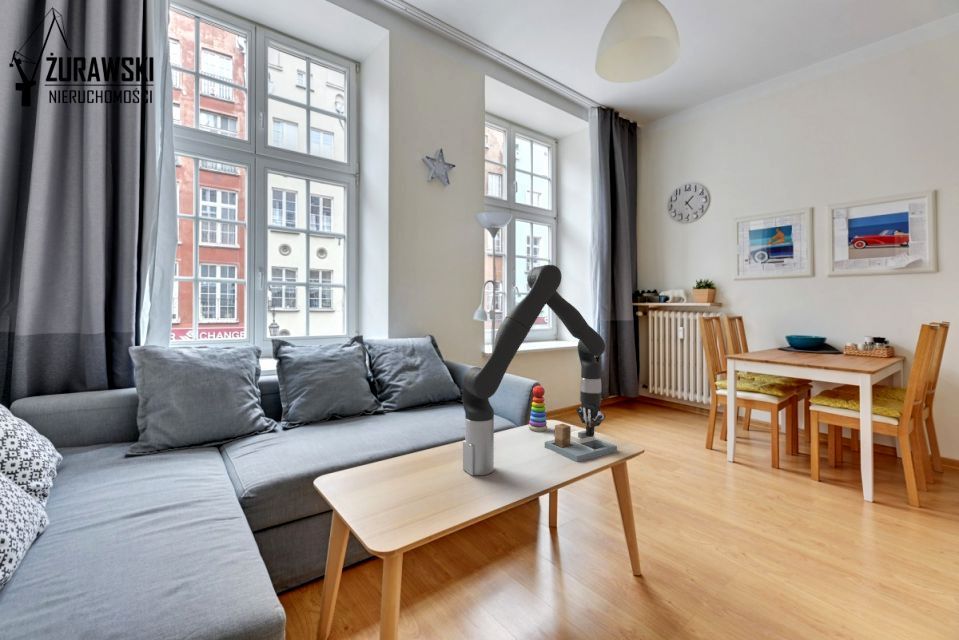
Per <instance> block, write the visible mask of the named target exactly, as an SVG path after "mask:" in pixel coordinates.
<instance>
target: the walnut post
mask: <svg viewBox="0 0 959 640" xmlns="http://www.w3.org/2000/svg"><path fill="white" fill-rule="evenodd" d="M571 427H572V426H571V425H567V424H565V423H561V424H560V423H559V424H555V425H554V440H555V445H556V446H558V447H560V448H565V447H569V446H570V435H571V432H572V431H571Z"/></svg>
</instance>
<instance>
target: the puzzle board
mask: <svg viewBox="0 0 959 640" xmlns="http://www.w3.org/2000/svg"><path fill="white" fill-rule="evenodd" d="M591 447H592V448H591ZM544 448H545V449H548V450H550V451H552V452H554V453H556V454H559V455H561V456H563V457H565V458H567V459H569V460H572V461H574V462H577V463H579V462H583V461H586V460H590V459H593V458H597V457H601V456H604V455H607V454H608V455H609V454H612V453H615V452H617V451H618V446H617V445H615V444H613V443H611V442H607V441H605V440H602V439H599V438H597V437H595V440H594V441H590V442H586V443H582V444H579V443H577V442H574V441H572V440H570V446H569V447H565V448H560V447H558V446H556V445H555V439H551V440H547V441H544ZM593 448H595V449H593ZM597 448H598V449H597Z"/></svg>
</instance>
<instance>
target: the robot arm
mask: <svg viewBox="0 0 959 640" xmlns="http://www.w3.org/2000/svg"><path fill="white" fill-rule="evenodd" d="M526 282H527V285H528V286H529V288H530V290H529V291H528V293H527V294H526V296H525V297H523V298H522V299H521V300H520V301H519V302H518V303H517V304H516V305H515V306H514V307H513V308H512V309H511V310H510V311H509V312H508V313H507V314H506V316H505V317H504V319H503V320H502V322H501V324H500V325H499V327H498V329H497V332H496V335H495V338H494V339H495V340H494V344H493V349H492V352H491V354H490V356H489V358H488V359H487V361H486V362H485V364H484V365H483V366H482V367H478V366H474V367H473V366H472V367H470V368H468V369H467V370H466V371H465V373H464V374H463V378H462V383H461V384H462V386H461V388H462V389H461V390H462V407H463V411H464V413H465V414H464V416H465V417H464V420H465V424H464V425H465V427H464V430H465V431H464V433H465V435H464V437H465V438H464V439H465V440H464V439H463V440H462V470H463V471H464V472H466V473H467V474H468V475H470V476H485V475H486V476H487V475H490V474H491V473H493V472H494V469H495V467H494V464H495V462H494V460H495V459H494V457H495V456H494V454H495V452H494V450H495V445H494V443H495V441H494V440H495V439H494V438H495V437H494V435H495V434H494V433H495V431H494V430H495V426H494V425H495V422H494V421H495V419H494V418H495V412H494V408H493V406H492V405H491V403H490V400H489V398H491V397H492V396H494V395H495V394H496V392H497V391H498V388H499V386H500V384H501V383H502V380H503V379H504V376H505V374H506V372H507V370H508V368H509V366H510V365H511V362H512V360H513V359H514V357H515V355H517V352H518V350H519V349H520V348H521V345H522V344H523V343H524V341H525V339H526V338H527V336H528V335H529V333H530V331H531V329H532V327H533V325H534V324H535V322H536V320H537V319H538V318H539V316H540V314H541V312H542V311H543V309H544V307H545V306H546V305H547V306H548V307H549V308H550V309H551V311H552V312H553V313H554V314H555V315H556V316H557V318H558V319H559V320H560V321H561V323H562V324H563V325H564V327H565V328H566V330H567V331H568V332H569V334H570V335H571V336H572V337H573V338H574V339H578V343H577V353H578V357H579V362H580V368H581V369H580V373H581V374H580V383H579V384H580V385H579V386H580V387H579V389H580V390H579V391H580V393H579V394H580V395H579V397H580V398H579V401H580V406H579V408H578V407H577V408H576V409H575V411H576V413H577V415H578V417H579V420H580V421H581V423H582V424H584V425H585V431H586V434H587V436H588V437H593V436H594V435H595V427H599V426H600V425H601V424H602V423H603V421H604V420H605V418H606V414H603V413H602V412H601V411H602V410H601V406H600V405H601V403H602V375H601V374H602V366H601V364H600V363H599V362H598V361H597V360H596V358H595V357H599V356H602V355H603V354H604V353H605V352H606V342H605V340H604V339H603V337H602V336H601V335H600V334H599V333H598V332H597V331H596V330H595V329H594V327H593V328H592V327H591V326H590V325H589V324H588V322H587V321H586V319H585V318H584V317H583V315H582V313H580V311H579V310H578V309H577V308H576V307H575V306H574V305H572V304H571V303H570V302H569V301H567V300H566V299H565V298H564V297H563V296H562V295H561V294H559V292H558V291H557V290H558V288H559V287H560V285H561V282H562V271H561V269H560V267H558V266H557V265H554V264H544V265H540V266H536V267H534V268H532V269H530V270H529V271H528V273H527V277H526Z"/></svg>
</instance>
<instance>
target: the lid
mask: <svg viewBox="0 0 959 640" xmlns="http://www.w3.org/2000/svg"><path fill="white" fill-rule="evenodd" d="M595 438H596V435H595V434H594V436H593V437H588V436H587V434H586V430H580V429H579V430H574V431H571V435H570V440H572V441H574V442H577V443H579V444H582V443H586V442H590V441H594V440H595Z"/></svg>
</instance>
